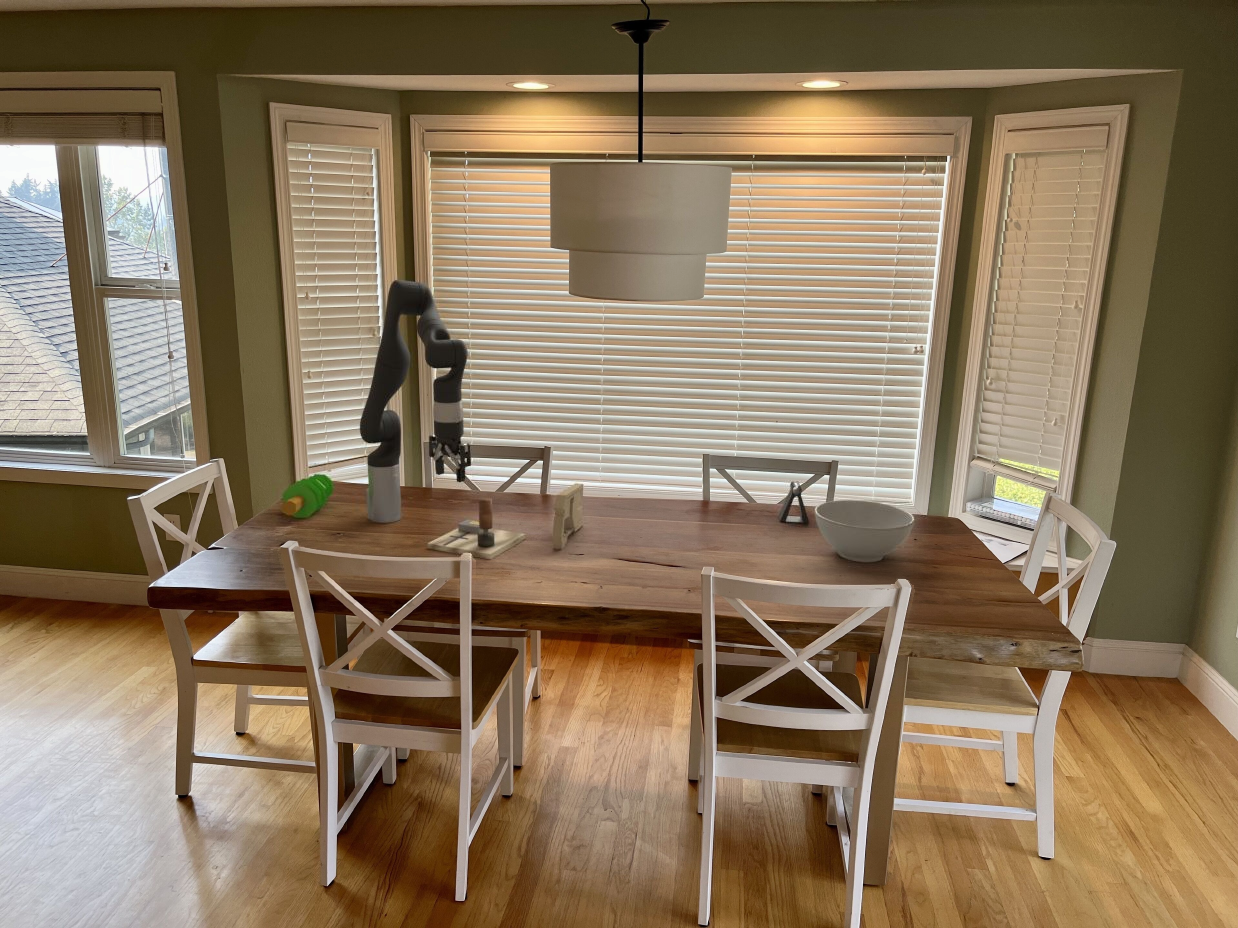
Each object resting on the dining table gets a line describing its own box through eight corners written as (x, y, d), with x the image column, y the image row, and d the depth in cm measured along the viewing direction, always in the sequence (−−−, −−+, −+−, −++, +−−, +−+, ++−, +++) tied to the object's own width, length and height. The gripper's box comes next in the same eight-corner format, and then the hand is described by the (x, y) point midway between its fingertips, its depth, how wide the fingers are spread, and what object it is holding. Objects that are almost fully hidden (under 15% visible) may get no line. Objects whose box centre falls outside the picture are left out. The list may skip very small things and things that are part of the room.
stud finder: (458, 530, 259) (458, 523, 258) (467, 525, 263) (467, 518, 263) (479, 533, 256) (479, 526, 256) (488, 529, 261) (488, 522, 260)
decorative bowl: (825, 534, 268) (828, 495, 266) (918, 549, 257) (922, 508, 254) (799, 560, 245) (802, 518, 242) (900, 578, 233) (904, 534, 231)
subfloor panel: (427, 548, 248) (427, 542, 248) (465, 529, 265) (465, 524, 265) (490, 559, 241) (490, 553, 240) (524, 539, 258) (524, 533, 257)
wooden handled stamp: (474, 546, 246) (473, 500, 243) (483, 541, 250) (482, 496, 247) (488, 548, 245) (488, 502, 242) (497, 543, 249) (497, 498, 246)
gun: (562, 550, 248) (563, 497, 246) (550, 549, 249) (552, 496, 247) (583, 531, 272) (584, 483, 270) (572, 531, 273) (574, 482, 270)
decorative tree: (277, 484, 264) (320, 456, 292) (266, 517, 267) (310, 487, 296) (313, 499, 264) (352, 471, 292) (302, 532, 267) (342, 501, 296)
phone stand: (807, 518, 284) (809, 481, 281) (809, 523, 278) (811, 486, 275) (778, 516, 285) (780, 480, 282) (779, 522, 279) (782, 485, 276)
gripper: (419, 415, 231) (421, 475, 236) (454, 425, 222) (456, 487, 227) (442, 410, 236) (444, 468, 241) (477, 420, 228) (479, 480, 232)
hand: (450, 477), depth 234 cm, fingers open, 8 cm apart
